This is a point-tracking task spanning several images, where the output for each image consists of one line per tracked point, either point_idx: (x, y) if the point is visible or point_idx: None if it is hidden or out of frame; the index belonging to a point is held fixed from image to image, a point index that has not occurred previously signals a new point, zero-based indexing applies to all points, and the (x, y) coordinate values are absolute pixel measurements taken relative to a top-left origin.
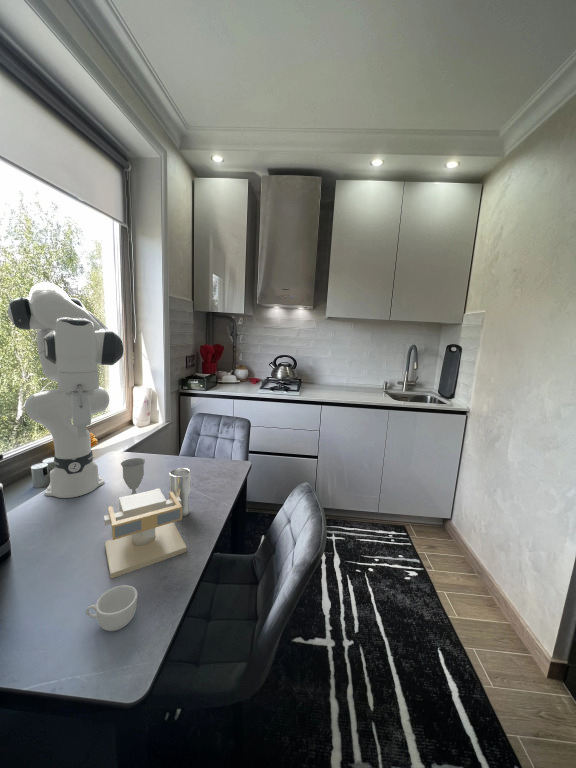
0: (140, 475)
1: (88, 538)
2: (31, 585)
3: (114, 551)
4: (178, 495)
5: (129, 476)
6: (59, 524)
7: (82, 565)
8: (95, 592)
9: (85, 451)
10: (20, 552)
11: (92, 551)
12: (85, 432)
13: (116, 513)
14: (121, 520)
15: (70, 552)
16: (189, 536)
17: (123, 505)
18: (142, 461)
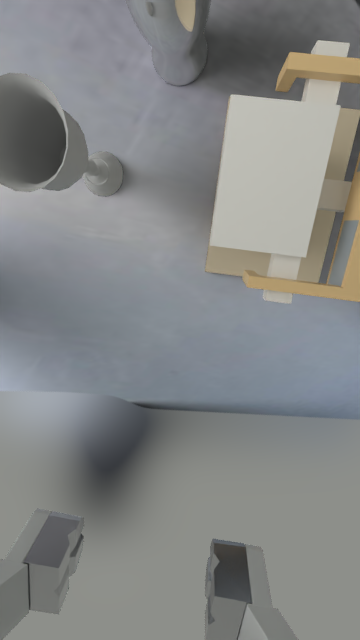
0: (77, 127)
1: (155, 291)
2: (234, 386)
3: (253, 263)
4: (204, 27)
5: (75, 172)
6: (68, 328)
7: (237, 316)
8: (327, 312)
9: None
10: (129, 391)
11: (206, 293)
12: (265, 585)
13: (276, 269)
14: (351, 274)
15: (182, 326)
16: (303, 79)
17: (269, 247)
18: (10, 86)
